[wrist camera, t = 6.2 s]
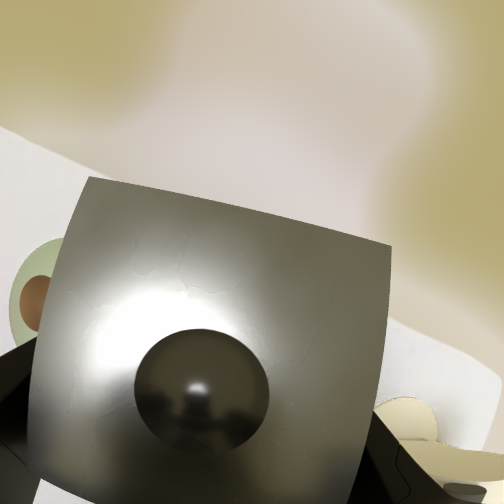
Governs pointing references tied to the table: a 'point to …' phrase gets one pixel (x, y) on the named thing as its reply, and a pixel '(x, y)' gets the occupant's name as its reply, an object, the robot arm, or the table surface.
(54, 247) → the plate
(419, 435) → the panda figurine
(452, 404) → the table surface
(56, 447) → the cover
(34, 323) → the wooden cylinder
